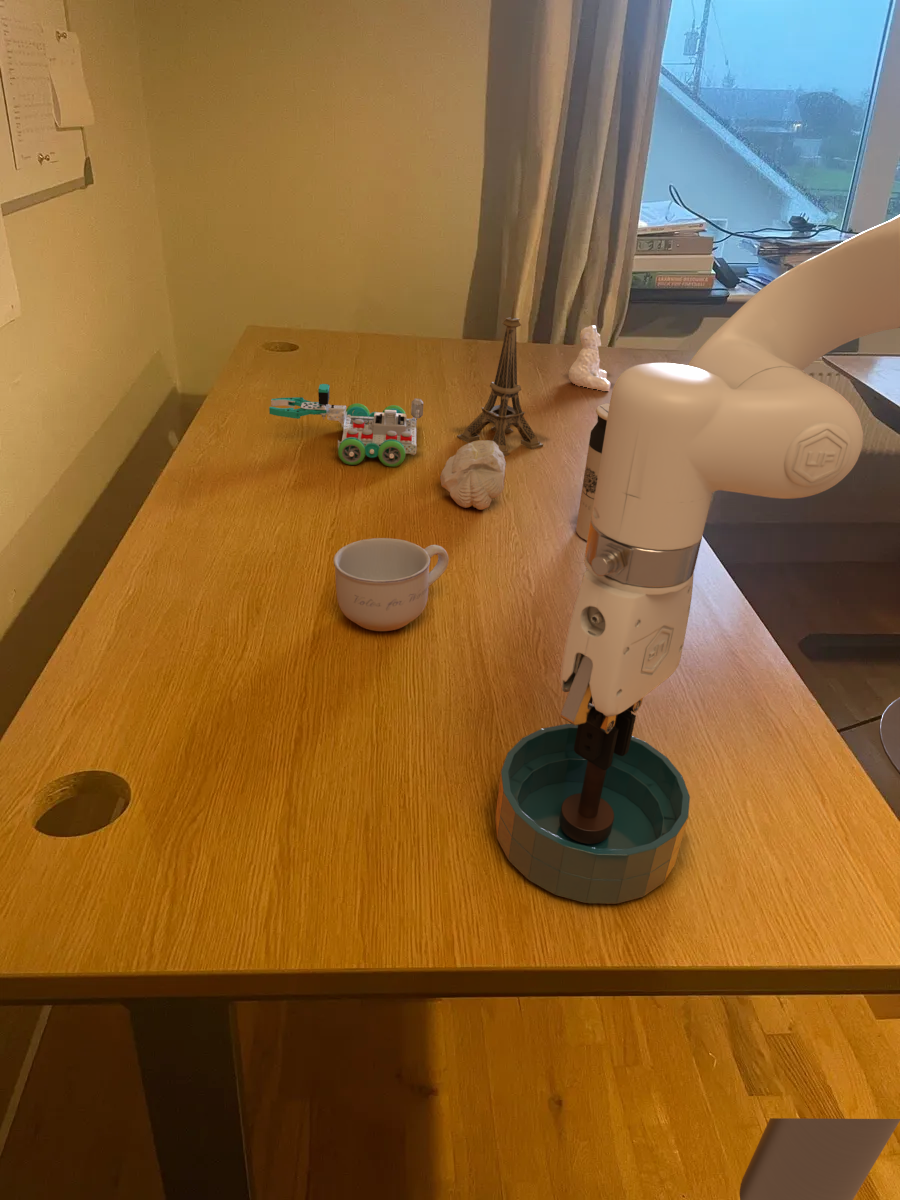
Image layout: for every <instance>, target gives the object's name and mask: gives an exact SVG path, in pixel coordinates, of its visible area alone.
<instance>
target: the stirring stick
mask: <svg viewBox="0 0 900 1200" xmlns="http://www.w3.org/2000/svg"><path fill="white" fill-rule="evenodd" d="M617 717H618V714H617V715H616V720H615V725H614V726H615V727H616V722H617ZM605 775H606V770H602V769H601V768H599V767H597V766H596V765H594V764H592V763H591V762H589V761H588V762H587V767H586V772H585V777H584V782H583V788H582V793H579V794H574V795H571V796H569V797H568V798H566V799H565V800H564V802H563V804H562V807H561V812H560V818H559V823H560V826H561V829H562V830H563V832H564V833H565V834H566V835H567V836H569V837H570V838H572V839H573V840H575V841H578V842H581V843H586V844H594V843H599V842H602V841H604V840H605V839H606V838H607V837H608V836H609V835H610V833H611V830H612V825H613V821H614V812H613V810H612V808H611V806H610V805H609V804H608V803H607V802H606V801H605V800H603V799H602V798H601V794H602V789H603V784H604V779H605Z"/></svg>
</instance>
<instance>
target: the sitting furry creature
mask: <svg viewBox="0 0 900 1200" xmlns="http://www.w3.org/2000/svg"><path fill="white" fill-rule="evenodd" d="M579 339H580V343H581V346H582V348H581V349H580V350H579V353H578V356H576V360H575V361H574V362H573V363H572V365H571V366H570V368H569V370H568V371H567V378H568V380H569V382H570V383H571V384H573V385H574V384H575V385H574V386H576V385H578V386H577V387H580V386H583V387H582V388H584V387H587V388H586V389H588V388H593V389H597V390H596V391H598V390H602V391H609V392H610V389H611V384H612V383H611V382H610V381H609V380H608V379H607V378H608V372H607V371H606V370H603V368H600V362H601V359H600V355H599V354H600V353H599V347H601V346H602V342H601V333H599V332H598V331H597V326H596V325H593V324H590V325H589V326H587V327H586V326H585V327H583V328H582V329H581V331H580V334H579ZM593 389H592V390H593ZM602 391H601V392H602Z"/></svg>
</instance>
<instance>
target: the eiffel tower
mask: <svg viewBox="0 0 900 1200" xmlns="http://www.w3.org/2000/svg"><path fill="white" fill-rule="evenodd" d="M515 301H516V293H514V296H513V302H512V309H511V316H509V317H504V321H503V322H502V324H503V326H505V333H504V336H503V337H504V338H503V342H502V347H501V352H500V357H499V361H498V365H497V370H496V374H495V379H494V381H490V384H489V388H491V391H490V394H489V397H488V400H487V402H486V403H485V405H484V406H483V407H481V411H482V412H480V414H479V415H478V416H477V417H475V419H473V421H472V422H471V423H469V425H467V427H466V428H465V429H464V431H463V432H462V433H460V434H458V435H457V436H456V438H457V439H459V440H462V441H463V442H465V443H472V442H473V441H479V440H480V437H481V436H480V435H479V434H480V433H481V432H482V430H483V429H484V428H485V427H486V426H487V425H489V424H493V425H494V426H492V427H490V429H491V431H494V432H495V433H494V436H493V439H492V441H494V442H495V443H496V444H497V445H498V446H499V450H500V451H501V452H502V453H503V455H504V457H506V456H509V455H510V452H509V450H508V449H507V439H506V434H509V433H513V432H514V430H513V429H512V428H511V426H514V427H515V428H516V429H517V431H518V433H519V435H520V437H521V438H522V439H521V440H520V445H522V446H524V447H526V448H528V449H531V450H533V449H537V448H542V447H544V443H542V442H540V441H539V439H538V436H537V435H536V433H535V432H534V431H533V428H532V427H531V425H530V424H529V422H528V421H527V420H526V418H525V416H524V415H525V414H526V412H525V411H523V409H522V406H521V402H520V397H519V393H520V392H521V391H522V386H521V385H519V384H518V362H517V361H518V359H517V353H518V352H517V328H518V327H521V326H522V324H521V323H520V321H521V318H517V317H515V304H516V303H515ZM498 397H500V404H497V405H496V401H497V399H498ZM509 399H511V404H512V406H510V405H509V401H510V400H509ZM541 446H542V447H541Z"/></svg>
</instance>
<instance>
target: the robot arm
mask: <svg viewBox="0 0 900 1200" xmlns="http://www.w3.org/2000/svg"><path fill="white" fill-rule="evenodd" d="M895 329H900V214H898V215H897V216H895V217H893V218H892V219H889V220H888V221H885V222H883V223H881V224H878V225H876V226H874V227H871V228H869V229H867V230H864V231H862V232H860V233H858V234H856V235H854V236H852V237H850V238H849V239H846V240H844V241H843V242H840V243H838V244H837V245H835V246H833V247H831V248H829V249H827V250H825V251H823V252H821V253H819V254H817V255H814V256H813V257H811V258H809V259H807V260H805V261H803V262H802V263H801V262H800V263H799V264H797V265H795V266H794V267H792V268H790V269H789V270H787V271H785V272H784V273H783V274H781V275H779V276H778V277H775V279H773V280H772V281H770V282H769V283H768V284H767V285H765V286H764V287H762V288H761V289H760V290H758V291H757V292H756V293H755V294H754V295H752V296H751V297H750V299H748V300H747V301H746V302H745V303H744V304H743V305H742V306H741V307H740V308H738V310H736V312H734V314H732V315H731V316H730V317H729V318H728V319H727V320H726V321H725V322H724V323H723V324H722V325H721V326H720V327H719V328H718V329H716V331H715V332H714V333H713V334H712V335H711V336H710V337H709V338H707V340H706V341H705V342H704V343H703V344H702V345H701V346H700V348H699V349H698V350H697V351H696V352H695V354H694V355H693V357H692V358H691V359H690V361H689V362H688V364H687V365H686V364H679V363H674V362H673V363H671V362H649V363H647V362H646V363H642V364H637V365H633V366H631V367H629V368H627V369H626V370H624V371H623V372H622V373H621V374H620V375H619V376H618V377H617V379H616V381H615V383H614V385H613V387H612V391H611V395H610V400H609V403H610V405H609V412H608V418H607V424H606V430H605V436H604V443H603V449H602V455H601V461H600V467H599V473H598V480H597V486H596V492H595V498H594V504H593V510H592V516H591V521H590V527H589V533H588V539H587V541H586V545H585V553H584V558H583V563H584V566H585V569H586V570H584V573H583V576H582V579H581V582H580V585H579V587H578V591H577V595H576V598H575V601H574V605H573V608H572V612H571V616H570V621H569V623H568V627H567V633H566V637H565V641H564V646H563V651H562V652H563V653H562V658H561V664H560V665H561V666H560V675H559V683H560V689H561V691H562V692H564V693H567V696H566V698H565V701H564V703H563V706H562V709H561V710H560V711H561V712H560V718H561V719H563V720H565V721H567V722H568V723H569V724H573V725H578V729H577V734H576V740H575V745H574V751H575V753H576V754H578V755H579V756H581V757H583V758H584V759H586V760H588V761H589V762H591V763H592V764H594V765H596V766H597V767H599V768H601V769H602V770H607V769H608V768H609V767H610V766H611V763H612V758H613V753H615V754H617V755H619V756H624V755H625V754H626V753H628V750H629V746H630V741H631V737H632V736H633V732H634V728H635V727H634V726H635V722H636V718H637V715H636V714H635V713H637V712H638V711H639V710H640V708H641V706H642V704H643V699H644V698H645V697H646V696H647V695H648V694H650V693H651V692H653V691H654V690H655V689H656V688H657V687H659V686H660V685H661V684H662V683H664V682H665V681H666V680H668V679H669V678H670V677H671V676H672V675H673V674H674V673H675V672H676V670H677V669H678V667H679V665H680V662H681V658H682V653H683V647H684V643H685V638H686V634H687V628H688V623H689V617H690V610H691V603H692V598H693V589H694V576H695V575H694V574H695V573H694V572H695V569H696V565H697V561H698V557H699V552H700V548H701V544H702V539H703V536H704V535H703V534H704V531H705V528H706V523H707V518H708V515H709V510H710V506H711V503H712V498H713V495H714V494H713V493H714V492H718V491H722V492H723V491H724V492H731V493H738V494H746V495H751V496H756V497H765V498H770V499H782V500H786V499H788V500H789V499H790V500H791V499H802V498H807V497H811V496H815V495H818V494H821V493H824V492H825V491H827V490H829V489H831V488H833V487H834V486H836V485H837V484H839V483H840V482H842V481H843V480H844V478H846V476H848V475H849V474H850V472H851V471H852V470H853V468H854V467H855V465H856V463H857V462H858V460H859V457H860V455H861V452H862V449H863V443H864V441H863V440H864V432H863V426H862V423H861V420H860V417H859V415H858V413H857V411H856V409H855V407H853V406H852V404H851V402H849V401H848V400H847V399H846V398H845V397H844V396H843V395H842V394H840V392H838V391H837V390H835V389H833V387H830V386H829V385H827V384H825V383H824V382H822V381H820V380H818V379H817V378H814V377H813V376H811V375H809V374H807V373H806V372H805V371H804V370H806V369H807V368H808V367H809V366H810V365H812V364H813V363H814V362H815V361H817V360H819V359H820V358H822V357H823V356H825V355H827V354H828V353H830V352H832V351H833V350H835V349H837V348H838V347H840V346H843V345H845V344H848V343H849V342H851V341H854V340H857V339H859V338H862V337H865V336H866V337H867V336H868V335H872V334H876V333H879V332H884V331H889V330H895ZM617 714H618V717H617V722H616V727H615V726H614V725H615V720H616V715H617Z"/></svg>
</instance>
